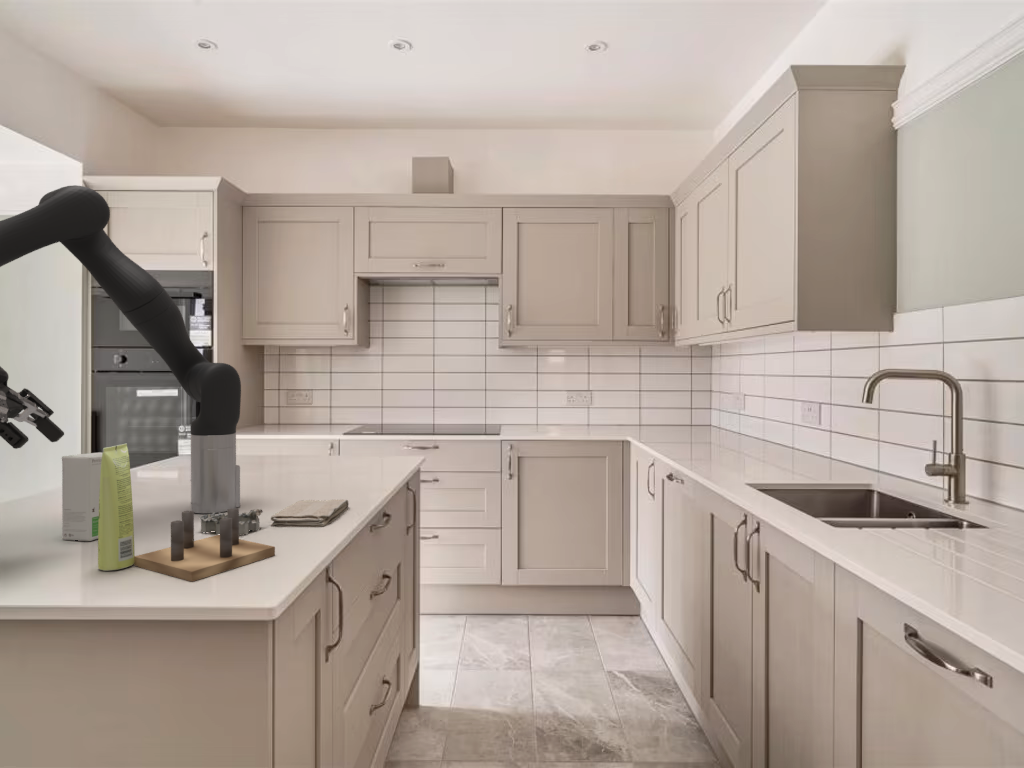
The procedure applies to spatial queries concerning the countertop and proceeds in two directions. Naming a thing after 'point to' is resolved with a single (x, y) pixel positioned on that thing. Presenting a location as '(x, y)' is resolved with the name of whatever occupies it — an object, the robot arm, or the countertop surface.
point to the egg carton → (213, 521)
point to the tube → (115, 510)
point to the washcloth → (310, 513)
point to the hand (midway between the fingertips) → (41, 441)
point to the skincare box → (80, 496)
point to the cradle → (203, 550)
